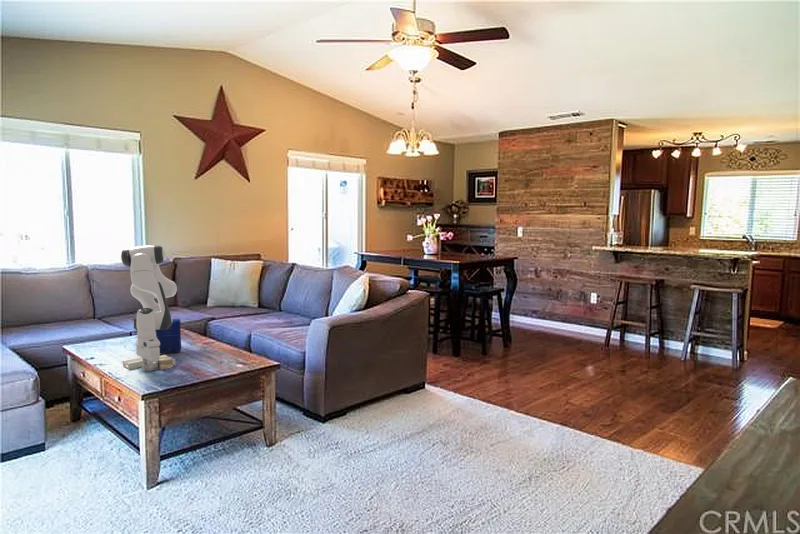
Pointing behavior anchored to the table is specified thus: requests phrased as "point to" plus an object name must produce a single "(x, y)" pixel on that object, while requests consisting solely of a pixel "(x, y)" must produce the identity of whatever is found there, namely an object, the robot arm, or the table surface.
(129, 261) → the robot arm
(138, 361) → the cradle
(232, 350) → the table surface
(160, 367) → the tan wooden block
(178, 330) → the book
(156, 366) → the bar
